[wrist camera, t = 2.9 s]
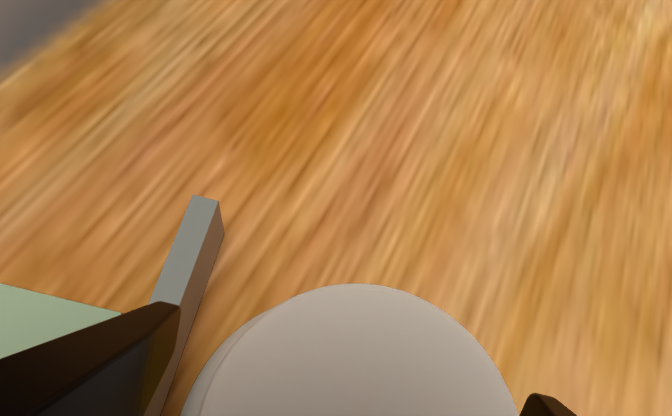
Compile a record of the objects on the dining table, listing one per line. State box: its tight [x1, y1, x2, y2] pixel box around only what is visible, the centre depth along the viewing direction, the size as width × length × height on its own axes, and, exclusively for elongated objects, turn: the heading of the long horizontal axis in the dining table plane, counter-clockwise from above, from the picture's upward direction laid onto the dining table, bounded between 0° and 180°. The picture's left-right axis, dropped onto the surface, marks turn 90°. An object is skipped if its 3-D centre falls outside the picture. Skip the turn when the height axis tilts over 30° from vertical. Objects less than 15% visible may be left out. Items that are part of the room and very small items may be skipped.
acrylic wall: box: [144, 195, 224, 416], centre depth 13 cm, size 12×1×2 cm, turn 168°
